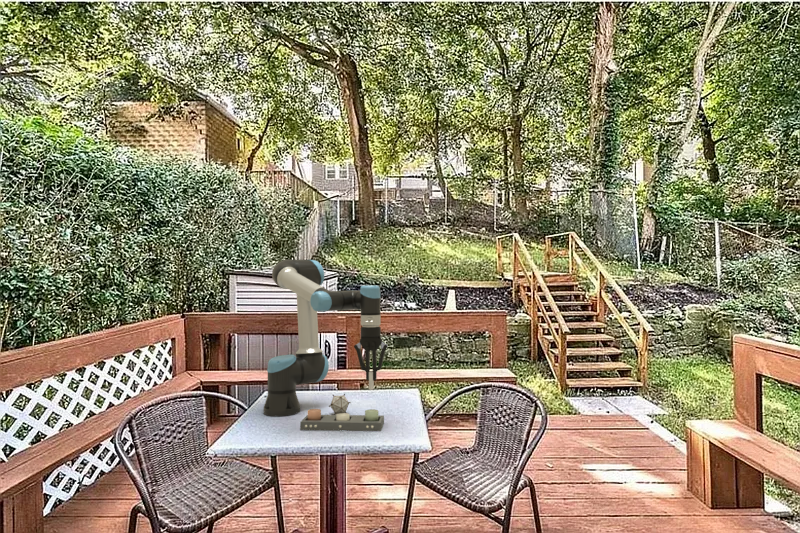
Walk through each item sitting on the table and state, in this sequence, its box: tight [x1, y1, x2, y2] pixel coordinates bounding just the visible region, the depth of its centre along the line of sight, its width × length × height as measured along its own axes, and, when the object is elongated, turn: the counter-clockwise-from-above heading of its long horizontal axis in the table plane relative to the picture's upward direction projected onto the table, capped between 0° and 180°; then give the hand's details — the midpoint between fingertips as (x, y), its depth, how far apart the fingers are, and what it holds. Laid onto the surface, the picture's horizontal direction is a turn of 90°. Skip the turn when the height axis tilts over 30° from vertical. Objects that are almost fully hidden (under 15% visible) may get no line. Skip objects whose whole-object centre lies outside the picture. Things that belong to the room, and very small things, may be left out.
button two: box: [364, 408, 379, 421], centre depth 208 cm, size 5×5×4 cm
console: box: [299, 414, 385, 432], centre depth 209 cm, size 30×12×3 cm, turn 85°
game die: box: [328, 393, 352, 415], centre depth 229 cm, size 9×8×10 cm
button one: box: [335, 412, 351, 421], centre depth 209 cm, size 5×5×4 cm
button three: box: [307, 408, 322, 420], centre depth 210 cm, size 5×5×4 cm
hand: (371, 388), depth 208 cm, fingers closed
